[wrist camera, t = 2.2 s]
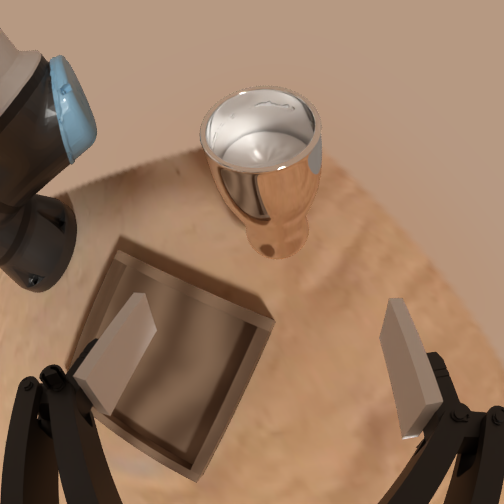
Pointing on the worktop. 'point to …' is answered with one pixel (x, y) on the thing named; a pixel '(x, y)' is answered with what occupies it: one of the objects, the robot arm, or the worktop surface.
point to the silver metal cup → (266, 163)
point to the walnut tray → (178, 364)
